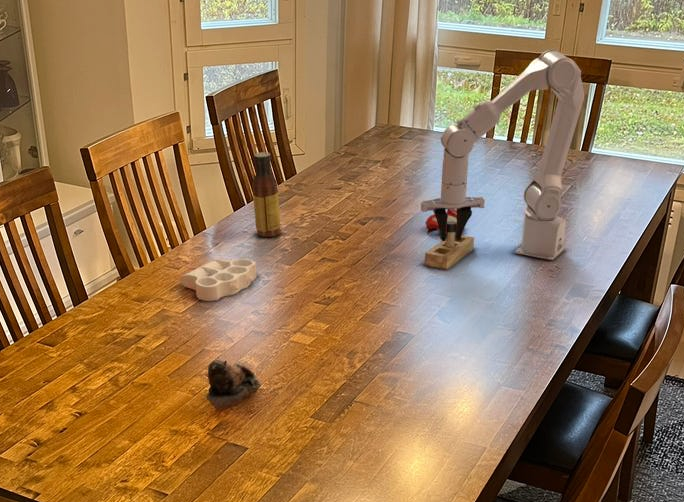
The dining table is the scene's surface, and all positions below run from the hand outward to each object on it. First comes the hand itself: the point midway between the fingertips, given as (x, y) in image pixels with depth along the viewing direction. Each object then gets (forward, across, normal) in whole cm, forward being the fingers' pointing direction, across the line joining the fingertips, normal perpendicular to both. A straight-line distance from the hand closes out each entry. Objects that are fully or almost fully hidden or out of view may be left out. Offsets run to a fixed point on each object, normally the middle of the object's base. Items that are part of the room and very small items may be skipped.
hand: (450, 239), depth 235 cm
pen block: (+4, 0, 0) cm, 4 cm away
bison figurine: (+5, +56, +61) cm, 83 cm away
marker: (+4, 0, 0) cm, 4 cm away
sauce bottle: (+5, +41, -23) cm, 48 cm away
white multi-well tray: (+5, +55, +7) cm, 55 cm away
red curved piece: (+5, -5, -19) cm, 20 cm away
